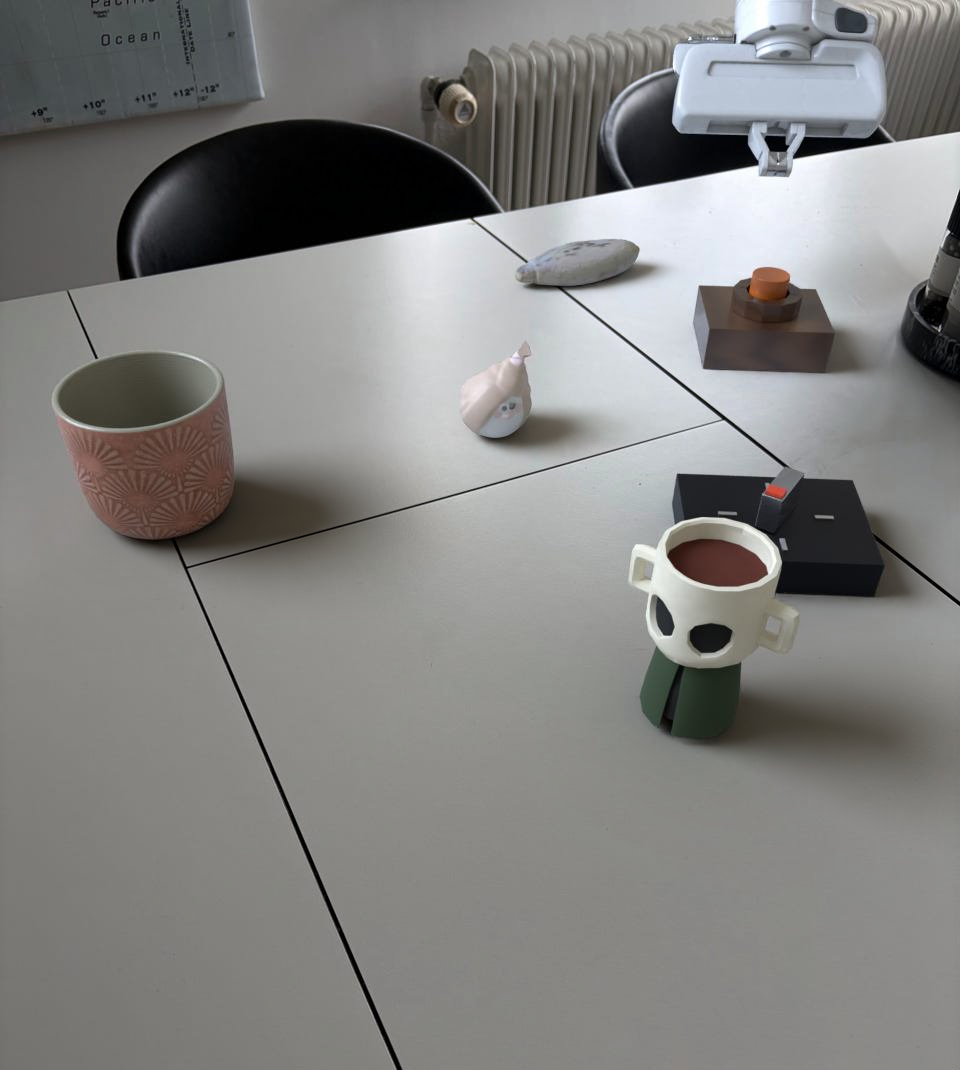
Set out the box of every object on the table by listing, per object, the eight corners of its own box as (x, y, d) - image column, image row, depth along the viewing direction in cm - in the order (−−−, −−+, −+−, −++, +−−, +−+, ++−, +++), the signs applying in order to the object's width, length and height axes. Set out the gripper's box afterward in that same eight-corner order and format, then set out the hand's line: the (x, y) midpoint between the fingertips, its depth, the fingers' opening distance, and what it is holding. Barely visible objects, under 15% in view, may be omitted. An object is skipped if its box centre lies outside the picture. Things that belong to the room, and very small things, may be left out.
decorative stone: (504, 278, 118) (505, 248, 116) (621, 255, 123) (623, 226, 121) (529, 299, 114) (531, 269, 112) (649, 275, 119) (652, 245, 117)
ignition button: (782, 287, 104) (787, 267, 102) (788, 303, 101) (793, 282, 100) (746, 286, 104) (750, 266, 102) (751, 301, 101) (755, 281, 100)
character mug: (587, 704, 68) (605, 546, 60) (642, 646, 73) (666, 491, 64) (737, 782, 64) (781, 623, 55) (786, 715, 68) (834, 557, 59)
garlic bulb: (532, 450, 91) (536, 366, 86) (459, 449, 91) (459, 366, 86) (528, 411, 96) (532, 330, 91) (459, 411, 96) (459, 329, 91)
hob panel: (843, 510, 85) (853, 478, 83) (874, 597, 77) (886, 563, 75) (671, 504, 85) (677, 471, 83) (684, 589, 77) (690, 555, 75)
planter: (276, 498, 85) (258, 377, 78) (163, 576, 78) (131, 450, 70) (170, 451, 90) (144, 333, 83) (54, 519, 83) (14, 396, 75)
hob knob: (776, 498, 81) (785, 463, 79) (796, 505, 80) (805, 469, 78) (754, 527, 78) (762, 491, 76) (774, 534, 77) (783, 498, 75)
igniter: (806, 327, 110) (820, 271, 106) (825, 373, 102) (840, 315, 98) (692, 323, 110) (701, 267, 106) (702, 368, 103) (712, 311, 99)
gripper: (678, 13, 99) (673, 154, 99) (895, 18, 99) (891, 160, 98) (668, 53, 106) (663, 186, 105) (872, 58, 105) (868, 192, 104)
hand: (775, 174), depth 101 cm, fingers closed
